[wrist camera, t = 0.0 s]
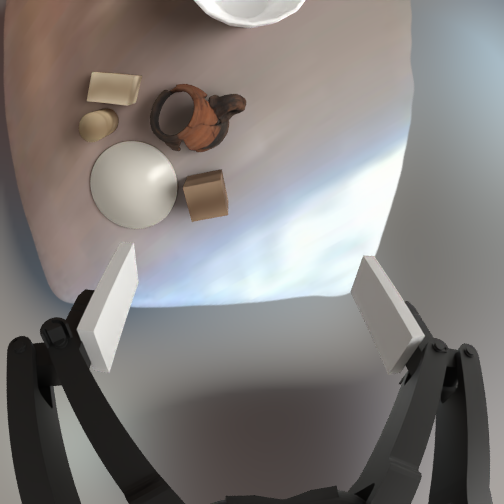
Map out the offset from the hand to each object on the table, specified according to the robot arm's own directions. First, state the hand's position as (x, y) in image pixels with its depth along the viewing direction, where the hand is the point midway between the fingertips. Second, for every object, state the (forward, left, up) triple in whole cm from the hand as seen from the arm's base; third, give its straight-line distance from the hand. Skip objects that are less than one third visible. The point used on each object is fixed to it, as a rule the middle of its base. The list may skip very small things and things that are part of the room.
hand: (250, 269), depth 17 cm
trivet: (+6, -15, -28) cm, 32 cm away
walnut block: (+6, -4, -28) cm, 29 cm away
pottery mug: (-5, -5, -28) cm, 29 cm away
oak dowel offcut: (-4, -19, -28) cm, 34 cm away
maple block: (-9, -17, -28) cm, 34 cm away
